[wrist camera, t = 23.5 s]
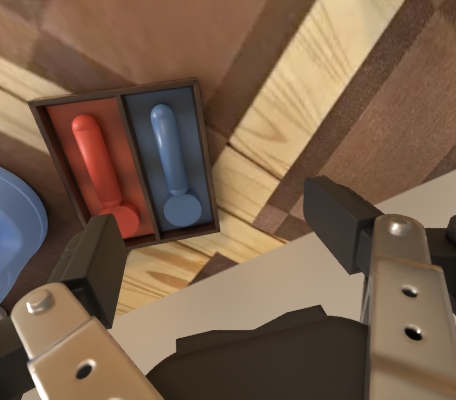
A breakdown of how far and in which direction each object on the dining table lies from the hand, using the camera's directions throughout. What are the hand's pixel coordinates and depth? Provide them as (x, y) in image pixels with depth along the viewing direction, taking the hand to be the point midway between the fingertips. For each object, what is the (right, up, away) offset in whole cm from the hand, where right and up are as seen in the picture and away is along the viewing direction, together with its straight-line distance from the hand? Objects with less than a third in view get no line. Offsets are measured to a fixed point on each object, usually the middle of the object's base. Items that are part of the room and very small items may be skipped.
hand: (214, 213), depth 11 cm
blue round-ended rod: (-7, +4, +25) cm, 26 cm away
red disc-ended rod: (-15, +3, +24) cm, 29 cm away
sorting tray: (-11, +5, +25) cm, 28 cm away
